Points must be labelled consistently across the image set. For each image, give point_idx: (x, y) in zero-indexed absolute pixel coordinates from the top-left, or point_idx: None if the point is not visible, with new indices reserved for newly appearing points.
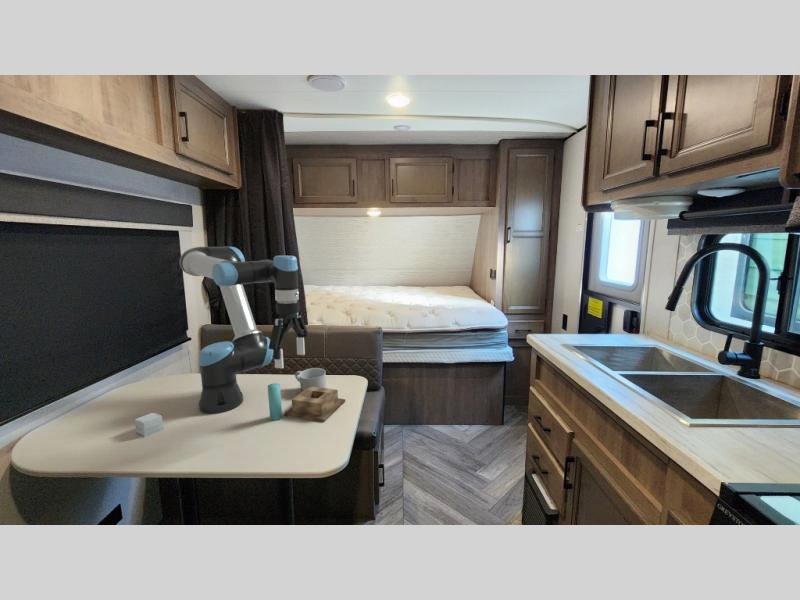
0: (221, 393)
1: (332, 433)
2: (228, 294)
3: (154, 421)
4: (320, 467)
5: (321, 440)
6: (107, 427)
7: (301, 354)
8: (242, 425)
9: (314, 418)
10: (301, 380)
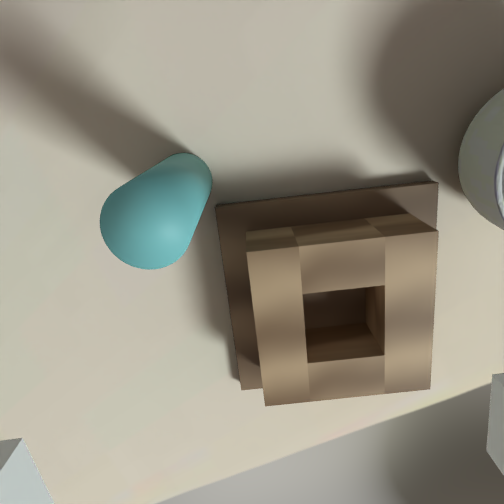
0: None
1: (190, 442)
2: None
3: None
4: None
5: (139, 436)
6: None
7: (492, 430)
8: (51, 78)
9: (236, 350)
10: (500, 131)
